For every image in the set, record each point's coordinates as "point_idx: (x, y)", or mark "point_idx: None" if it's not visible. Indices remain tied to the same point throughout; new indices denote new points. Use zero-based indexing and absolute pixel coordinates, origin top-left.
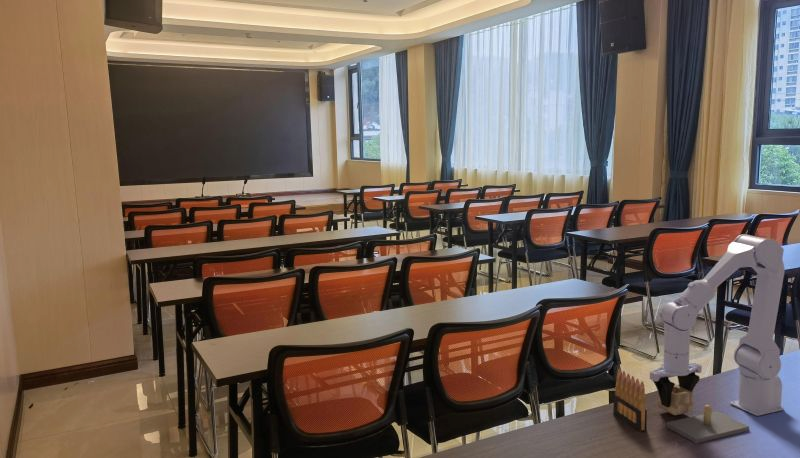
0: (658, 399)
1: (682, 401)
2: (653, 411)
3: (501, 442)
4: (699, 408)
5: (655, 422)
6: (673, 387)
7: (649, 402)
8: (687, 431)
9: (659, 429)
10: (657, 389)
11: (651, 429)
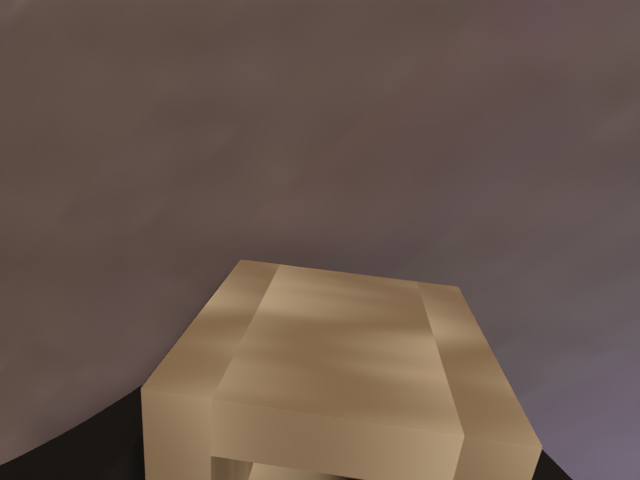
0: (214, 294)
1: None
2: (221, 219)
3: None
4: (623, 372)
5: (96, 354)
6: (403, 476)
7: (348, 46)
8: None
9: (53, 427)
10: (38, 450)
11: (4, 403)
